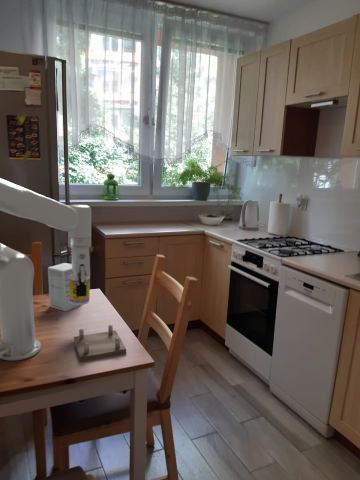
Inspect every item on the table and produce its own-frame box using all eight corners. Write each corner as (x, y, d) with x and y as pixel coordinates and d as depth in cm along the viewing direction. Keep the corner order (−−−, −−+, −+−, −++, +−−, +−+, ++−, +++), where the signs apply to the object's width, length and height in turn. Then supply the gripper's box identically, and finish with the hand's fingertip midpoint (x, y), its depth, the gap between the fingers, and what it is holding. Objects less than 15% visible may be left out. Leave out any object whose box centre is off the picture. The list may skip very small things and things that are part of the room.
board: (126, 353, 115) (126, 340, 114) (80, 361, 110) (80, 347, 109) (115, 334, 128) (115, 322, 127) (73, 341, 122) (73, 328, 121)
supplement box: (82, 304, 153) (81, 265, 150) (65, 312, 146) (64, 271, 142) (66, 300, 158) (64, 262, 155) (48, 306, 150) (47, 267, 147)
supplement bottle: (69, 306, 124) (69, 269, 121) (69, 299, 130) (69, 264, 128) (90, 305, 126) (90, 268, 123) (89, 298, 132) (89, 263, 130)
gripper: (95, 246, 118) (95, 299, 121) (86, 236, 133) (86, 284, 136) (71, 247, 115) (71, 302, 118) (65, 237, 130) (65, 286, 133)
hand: (79, 292), depth 127 cm, fingers closed on supplement bottle, 6 cm apart
